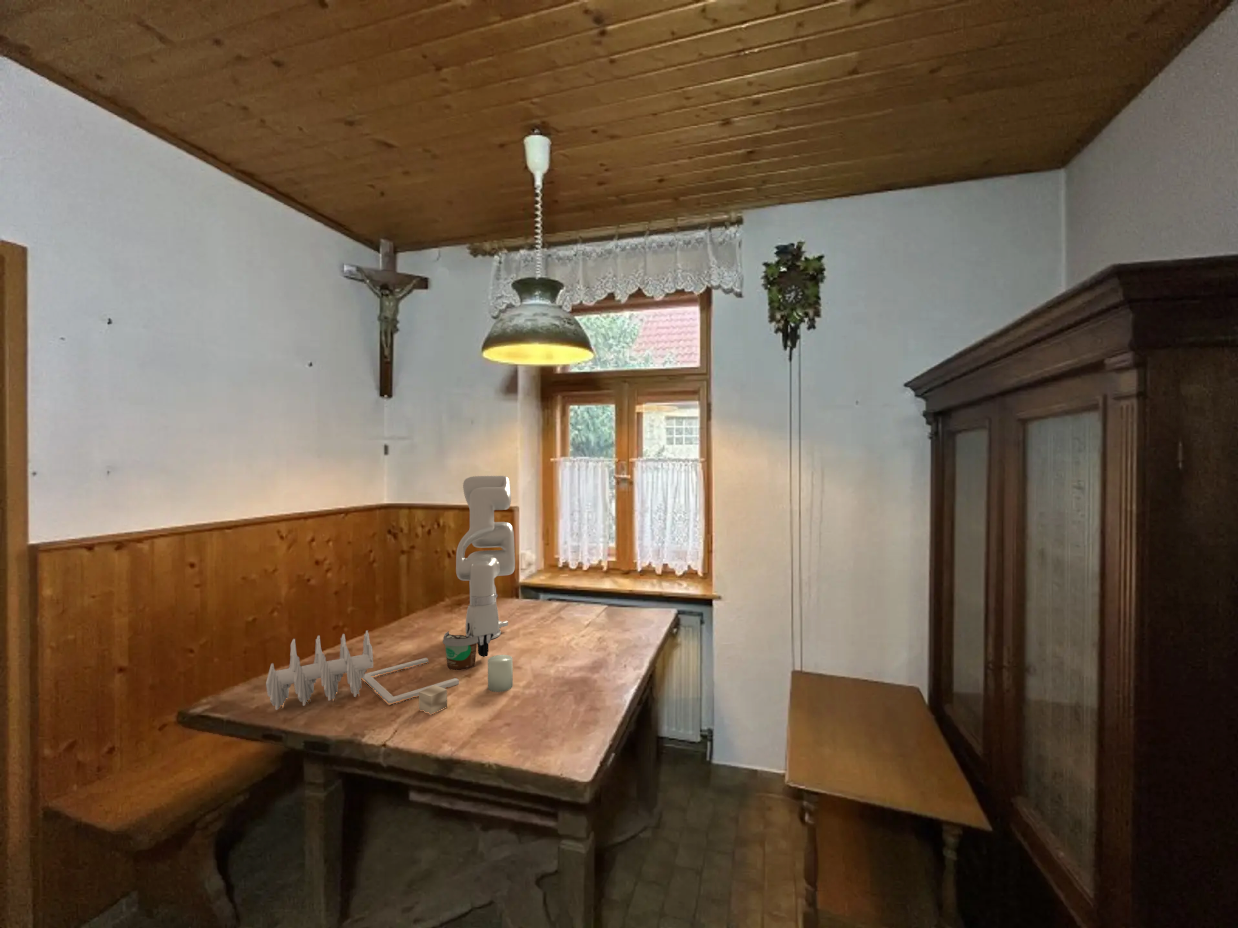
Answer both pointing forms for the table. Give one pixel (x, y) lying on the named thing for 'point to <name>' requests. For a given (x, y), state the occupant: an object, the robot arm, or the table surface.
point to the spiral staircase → (319, 673)
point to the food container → (460, 651)
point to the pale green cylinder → (500, 673)
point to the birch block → (433, 699)
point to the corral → (391, 699)
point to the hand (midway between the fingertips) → (483, 655)
